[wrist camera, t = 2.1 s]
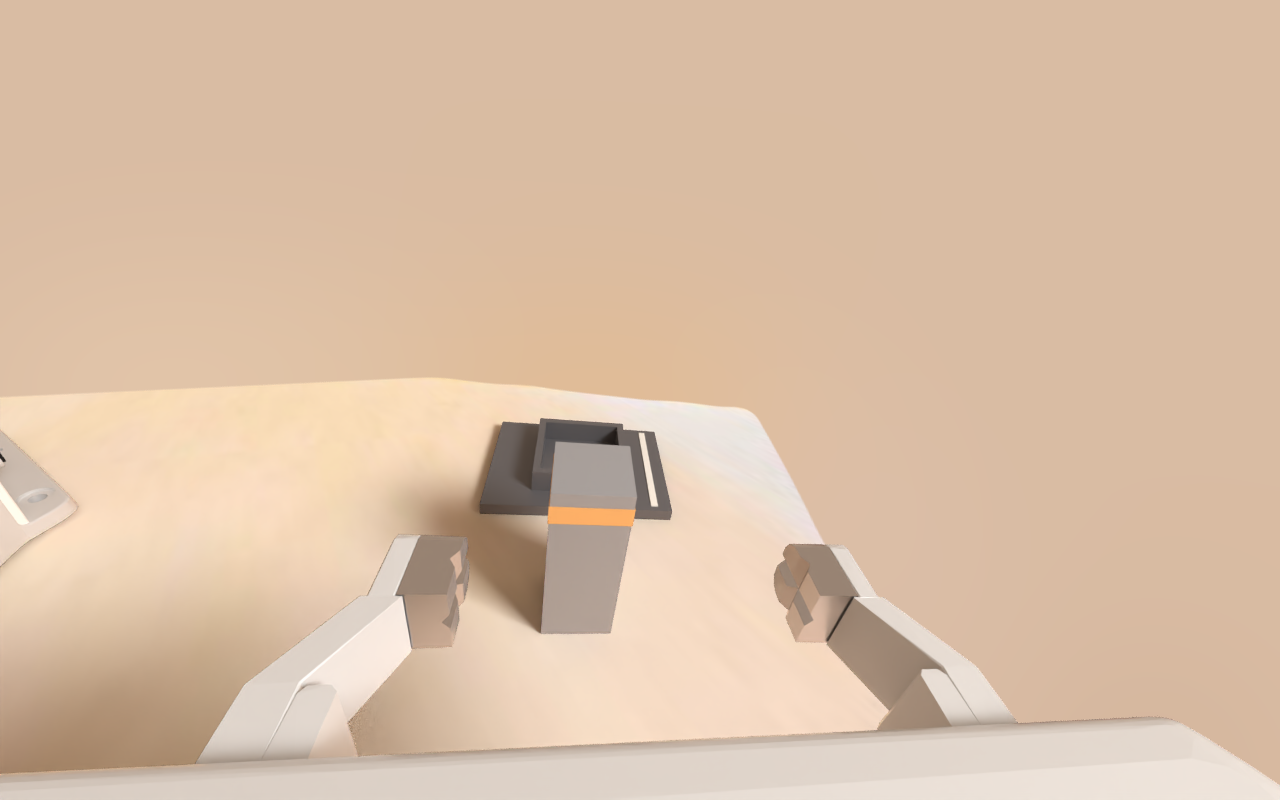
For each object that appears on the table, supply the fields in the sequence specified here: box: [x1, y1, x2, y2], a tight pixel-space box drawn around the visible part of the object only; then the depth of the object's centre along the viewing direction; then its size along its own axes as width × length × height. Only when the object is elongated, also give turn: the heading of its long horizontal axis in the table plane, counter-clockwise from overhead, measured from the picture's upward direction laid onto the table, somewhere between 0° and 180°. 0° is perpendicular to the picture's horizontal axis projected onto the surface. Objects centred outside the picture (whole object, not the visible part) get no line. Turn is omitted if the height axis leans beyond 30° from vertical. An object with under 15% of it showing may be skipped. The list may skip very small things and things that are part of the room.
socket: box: [480, 418, 672, 520], centre depth 43 cm, size 16×12×3 cm
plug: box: [541, 442, 637, 634], centre depth 28 cm, size 5×5×12 cm
